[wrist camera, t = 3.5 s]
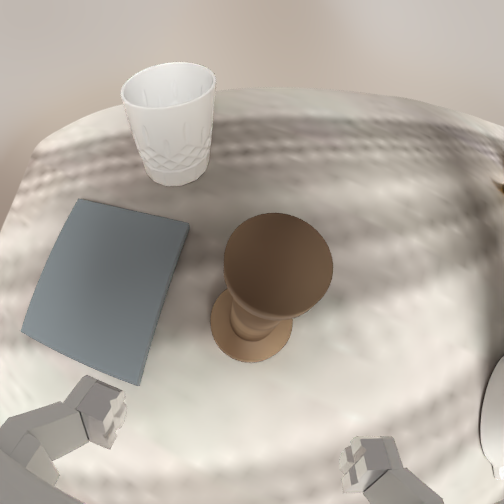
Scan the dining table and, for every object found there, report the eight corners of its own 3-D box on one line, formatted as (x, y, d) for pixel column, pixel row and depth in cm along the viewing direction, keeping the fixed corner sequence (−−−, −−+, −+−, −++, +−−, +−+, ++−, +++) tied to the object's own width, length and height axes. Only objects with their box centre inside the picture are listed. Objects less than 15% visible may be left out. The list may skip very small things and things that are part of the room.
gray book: (189, 227, 25) (188, 223, 25) (139, 385, 19) (136, 385, 18) (81, 203, 25) (78, 198, 25) (25, 333, 19) (20, 331, 18)
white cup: (230, 165, 29) (236, 83, 20) (166, 205, 26) (148, 122, 17) (186, 129, 31) (182, 54, 22) (127, 161, 28) (106, 85, 19)
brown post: (293, 297, 24) (353, 217, 13) (280, 369, 21) (343, 348, 10) (221, 280, 24) (225, 185, 13) (202, 352, 21) (184, 314, 10)
